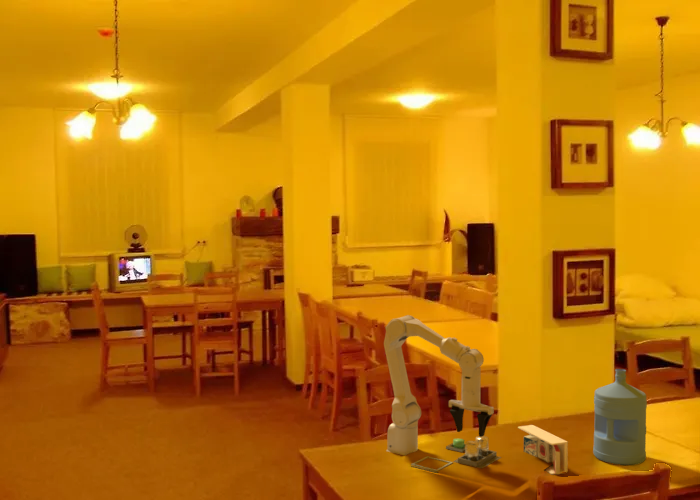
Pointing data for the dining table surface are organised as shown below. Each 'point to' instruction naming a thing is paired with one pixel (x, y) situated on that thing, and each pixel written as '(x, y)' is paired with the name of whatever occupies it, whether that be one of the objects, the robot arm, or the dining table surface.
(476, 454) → the cylinder
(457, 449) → the button housing
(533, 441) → the cigarette display
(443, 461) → the tote tray
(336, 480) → the dining table surface
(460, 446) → the button
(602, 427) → the water jug
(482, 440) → the seated billet
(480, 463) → the grey pocketed tray
